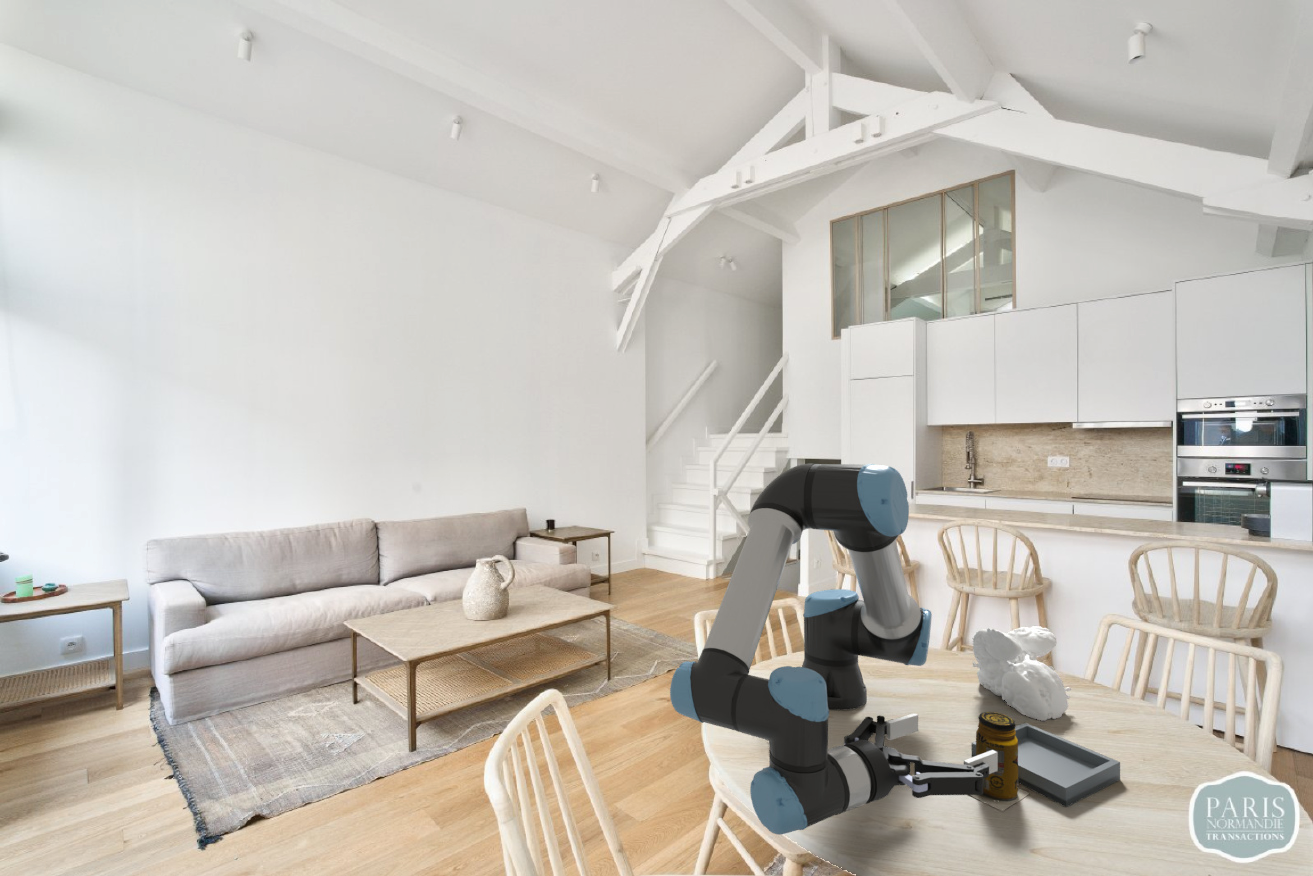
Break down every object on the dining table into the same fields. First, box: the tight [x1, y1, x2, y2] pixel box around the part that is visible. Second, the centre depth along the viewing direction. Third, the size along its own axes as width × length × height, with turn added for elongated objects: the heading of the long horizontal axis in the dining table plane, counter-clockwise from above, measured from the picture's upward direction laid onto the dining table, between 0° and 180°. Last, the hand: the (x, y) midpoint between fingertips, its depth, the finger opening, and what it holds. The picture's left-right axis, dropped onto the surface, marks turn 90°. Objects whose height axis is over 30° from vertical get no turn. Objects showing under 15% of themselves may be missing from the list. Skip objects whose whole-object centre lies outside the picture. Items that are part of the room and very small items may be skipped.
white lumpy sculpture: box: [972, 625, 1072, 722], centre depth 133 cm, size 19×20×20 cm
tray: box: [971, 722, 1121, 808], centre depth 106 cm, size 16×16×3 cm
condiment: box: [970, 711, 1030, 812], centre depth 99 cm, size 7×8×12 cm
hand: (953, 740), depth 94 cm, fingers open, 13 cm apart
